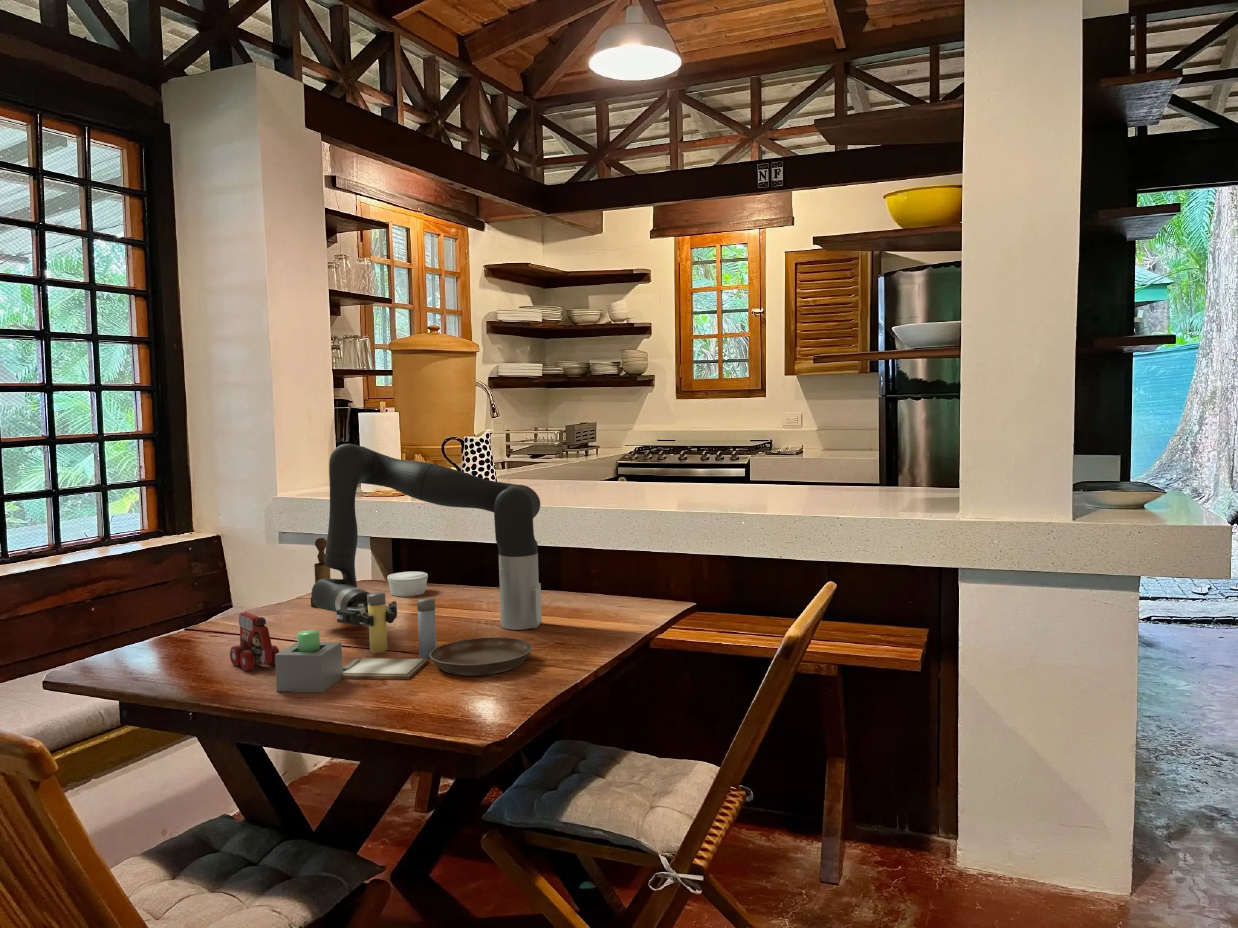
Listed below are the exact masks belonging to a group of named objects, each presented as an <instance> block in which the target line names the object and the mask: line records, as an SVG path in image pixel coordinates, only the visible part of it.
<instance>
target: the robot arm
mask: <svg viewBox="0 0 1238 928" xmlns="http://www.w3.org/2000/svg"><path fill="white" fill-rule="evenodd" d="M328 464H329V465H328V475H329V477H328V478H329V514H328V515H329V518H328V528H327V536H326V541H327V543H326V548H325V550H324V553H325V559H324V563H325V565H326V566H327V567H329V568H330V569H332V570H335V571H339V572H340V573H341V576H342V579H341V578H330V579H329V578H324V579H320V580H318V581H317V582H316V583H315V582H314V584H313V586H312V588H311V596H310V597H312V600H313V602H314V604H315V605H316V606H317V607H316V608H319V609H320V610H324V611H329V612H334V613H335V614H336V622H337V623H338V624H339V623H340V624H345V625H350V626H351V625H352V626H358V627H363V626H368V627H369V626H374V618H373V615H371V614H369V613H368V604H367V594H370V593H371V592H369V591H366V590H365V589H363V588H361V587H358V583H357V575H356V567H355V566H356V565H355V564H356V553H357V547H358V546H357V545H358V535H359V534H358V533H359V532H358V523H357V514H356V496H357V489H358V485H359V484H363V485H364V484H365V485H373V486H378V487H385V488H390V489H393V490H395V491H397V492H399V493H401V494H404V495H406V496H409V497H411V498H413V499H416V500H418V501H422V502H426V503H429V504H433V505H438V506H442V507H451V508H463V509H464V508H465V509H466V508H468V509H479V510H483V511H487V512H491V513H493V515H494V517H493V518H494V531H495V535H494V536H495V543H496V545H497V547H498V548H497V549H498V570H499V571H498V577H499V606H500V609H499V610H500V611H499V613H500V627H501V628H503V629H506V630H513V631H514V630H515V631H516V630H517V631H519V630H528V629H538V627H539V626H540V625H541V623H543V619H542V589H541V588H542V585H541V584H542V583H540V582H539V557H538V556H539V551H538V550H539V548H538V541H537V540H536V538H535V532H534V531H535V530H534V518H535V517H536V516H537V515H538V514H539V512H540V508H541V500H540V497H539V495H538V493H537V492H536V491H535V490H534V489H533V488H531V487H529V486H528V485H524V484H519V483H518V484H517V483H507V482H501V481H495V480H489V479H487V478H482V477H479V476H476V475H473V474H470V473H468V472H464V471H461V470H459V469H458V470H457V469H453V468H450V467H447V466H443V465H439V464H435V463H429V462H425V461H419V460H407V459H401V458H395V457H391V456H388V455H385V454H383V453H380V452H377V451H374V450H372V449H370V448H368V447H365V446H363V445H359V444H358V445H357V444H352V443H343V444H340V445H338V446H337V447H335V448H334V449H333V451H332V453H331V454H330V457H329V462H328ZM385 606H386V623H388V624H393V623H394V621H396V619H397V617H398V603H397V601H394V600H393V601H391V602H389V603H388V605H385Z"/></svg>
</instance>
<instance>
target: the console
mask: <svg viewBox="0 0 1238 928" xmlns="http://www.w3.org/2000/svg"><path fill="white" fill-rule="evenodd" d="M342 647H343V646H342V642H339V641H335V642H334V641H332V642H331V641H320V650H318V651H317V652H298V642H294V643H293V644H292V645H290V646H287V647H286V648H284V649H282V650H281V651H279V653H277V654H276V655H275V665H274V667H275V681H276V685H275V686H276V692H277V691H288V692H289V691H291V692H289V693H324V692H325V691H327V690H328V689H330V688H331V687H332V686H333V685H335V684H336V683H337V682H339V681H341V680H342V679H343V678H342V675H343V667H344V666H343V651H342V650H343V649H342ZM288 692H287V693H288Z"/></svg>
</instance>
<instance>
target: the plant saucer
mask: <svg viewBox="0 0 1238 928" xmlns="http://www.w3.org/2000/svg"><path fill="white" fill-rule="evenodd" d="M532 649H533V645H532V644H531V642H528V641H526V640H523V639H518V638H513V637H512V638H511V637H500V636H499V637H493V636H492V637H476V638H475V637H474V638H469V639H462V640H457V641H456V640H455V641H452V642H448V643H445V644H443V645H442V644H441V645H440V646H438V647H437V646H436V648H435V649H434V650H432V651H431V653H430V657H431V658H430V659H431V660H432V662H433V663H434V664H435V666H437V667H438V668H439V669H440V670H442V671H443V672H445V673H448V674H452V675H456V676H465V677H466V676H469V677H470V676H471V677H473V676H474V677H476V676H477V677H478V676H479V677H480V676H488V675H496V673H497V674H500V673H505V672H509V671H511V670H513V669H516V668H517V667H519V666H520V665H522V664H523V663H524V662H525V660H527V659H528V657H529V656H530V654H531V652H532Z"/></svg>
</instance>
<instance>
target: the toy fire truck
mask: <svg viewBox="0 0 1238 928" xmlns="http://www.w3.org/2000/svg"><path fill="white" fill-rule="evenodd" d="M266 620H267V619H266V618H265V617H263V616H258V615H256V614H252V613H250V612H247V611H245V612H241V613H239V615H238V625H239V645H234V646H232V647H231V648H230V650H229V657H230V662H231V664H232V665H233V666H234V667H238V666H240V667H241V669H242V671H244V672H249V671H252V670H254V669H255V668H254V667H256V666H257V665H261V664H262V665H269V666H275V655H276V654H277V653H279V652H280V649H279V647H278V646H276V645H274V644H272V641H271V636H270V631H269V628H268V626H266V625H267V621H266Z"/></svg>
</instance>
